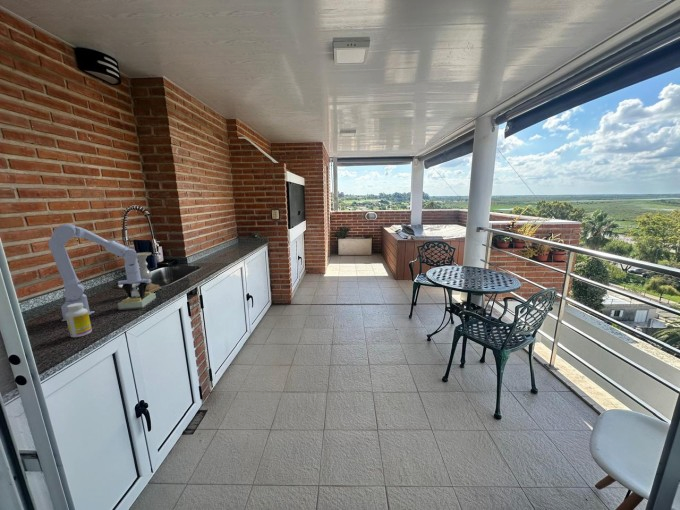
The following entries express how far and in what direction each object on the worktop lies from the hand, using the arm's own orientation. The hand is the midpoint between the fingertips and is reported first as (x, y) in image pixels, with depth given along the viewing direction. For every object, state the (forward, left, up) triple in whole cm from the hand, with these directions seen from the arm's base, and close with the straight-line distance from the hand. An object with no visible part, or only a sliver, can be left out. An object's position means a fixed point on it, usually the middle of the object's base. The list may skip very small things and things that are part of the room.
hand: (137, 296), depth 145 cm
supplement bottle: (-33, +5, -4) cm, 34 cm away
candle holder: (+22, +6, -4) cm, 23 cm away
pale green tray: (0, 0, -4) cm, 4 cm away
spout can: (0, 0, -2) cm, 2 cm away
